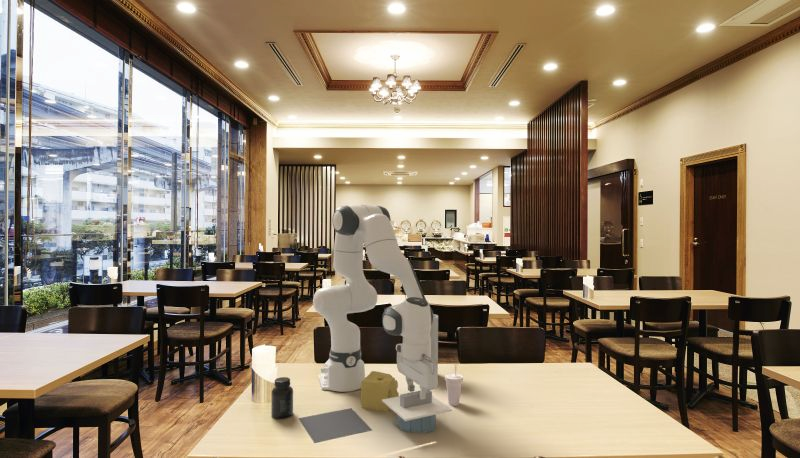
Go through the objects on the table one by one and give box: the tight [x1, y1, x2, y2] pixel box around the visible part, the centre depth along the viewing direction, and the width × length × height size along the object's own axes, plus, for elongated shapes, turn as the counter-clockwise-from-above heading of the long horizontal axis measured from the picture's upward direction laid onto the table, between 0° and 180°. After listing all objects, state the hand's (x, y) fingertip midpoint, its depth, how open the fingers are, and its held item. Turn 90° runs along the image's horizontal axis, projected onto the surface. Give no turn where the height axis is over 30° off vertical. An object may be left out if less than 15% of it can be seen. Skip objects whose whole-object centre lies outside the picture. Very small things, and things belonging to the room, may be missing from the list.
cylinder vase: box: [430, 313, 439, 376], centre depth 186 cm, size 12×12×25 cm
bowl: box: [396, 414, 436, 434], centre depth 141 cm, size 12×12×6 cm
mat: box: [298, 407, 373, 444], centre depth 141 cm, size 18×18×1 cm
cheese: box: [360, 370, 400, 412], centre depth 156 cm, size 10×11×10 cm
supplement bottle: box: [270, 376, 294, 420], centre depth 147 cm, size 7×7×12 cm
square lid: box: [382, 390, 453, 421], centre depth 141 cm, size 16×16×4 cm
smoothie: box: [444, 363, 464, 407], centre depth 158 cm, size 6×6×14 cm
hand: (416, 394), depth 141 cm, fingers open, 5 cm apart
